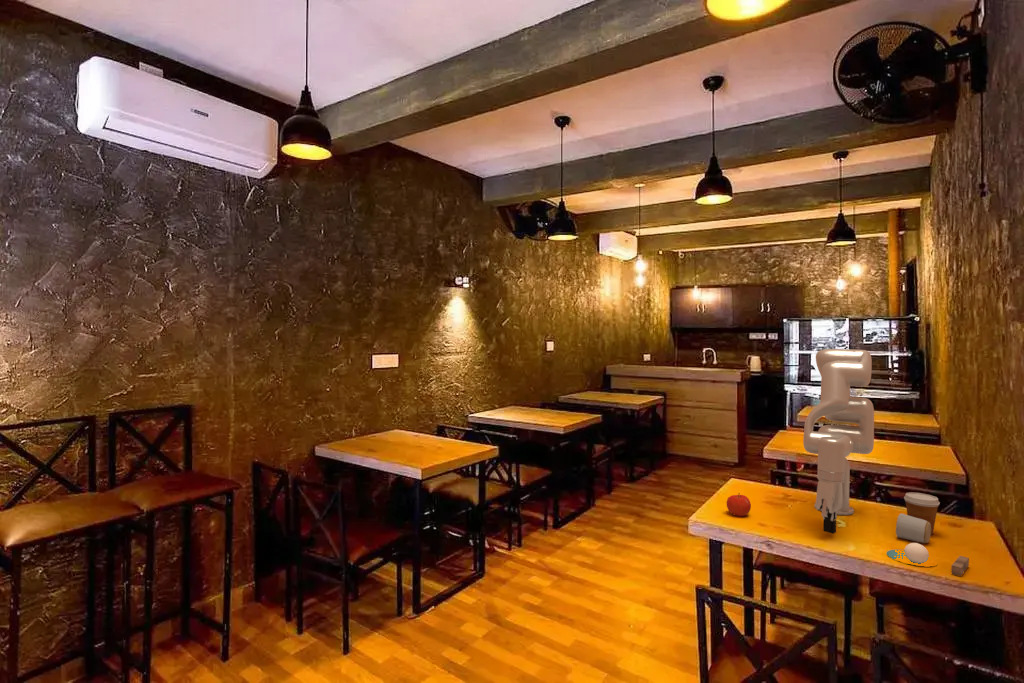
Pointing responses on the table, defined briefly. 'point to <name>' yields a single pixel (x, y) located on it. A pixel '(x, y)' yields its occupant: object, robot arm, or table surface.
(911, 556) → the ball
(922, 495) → the disposable coffee cup
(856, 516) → the table surface
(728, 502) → the apple
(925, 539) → the grey cylinder
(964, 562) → the strip
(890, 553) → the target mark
